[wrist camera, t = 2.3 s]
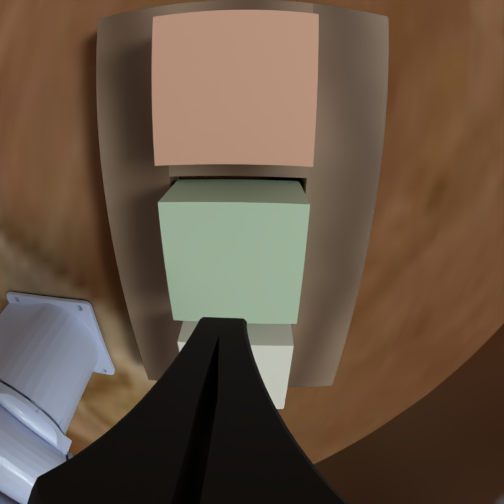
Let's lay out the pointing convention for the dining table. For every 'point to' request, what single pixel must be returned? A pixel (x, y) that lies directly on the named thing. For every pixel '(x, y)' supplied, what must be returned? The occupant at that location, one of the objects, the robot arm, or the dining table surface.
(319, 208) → the brown tray
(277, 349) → the cream button
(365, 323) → the dining table surface
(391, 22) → the dining table surface
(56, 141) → the dining table surface
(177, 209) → the sage button
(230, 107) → the terracotta button
